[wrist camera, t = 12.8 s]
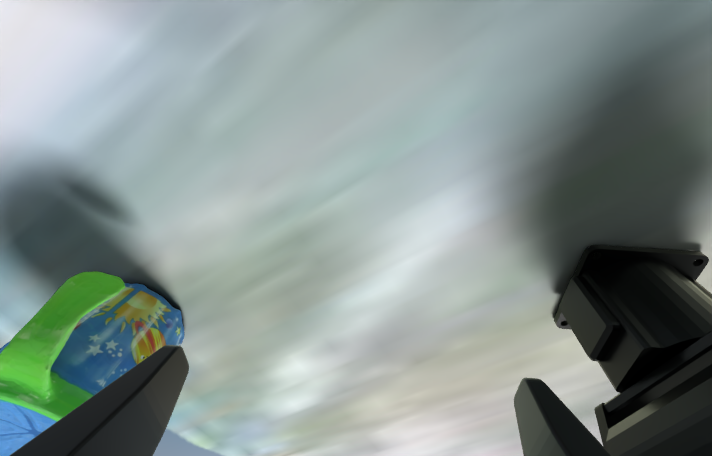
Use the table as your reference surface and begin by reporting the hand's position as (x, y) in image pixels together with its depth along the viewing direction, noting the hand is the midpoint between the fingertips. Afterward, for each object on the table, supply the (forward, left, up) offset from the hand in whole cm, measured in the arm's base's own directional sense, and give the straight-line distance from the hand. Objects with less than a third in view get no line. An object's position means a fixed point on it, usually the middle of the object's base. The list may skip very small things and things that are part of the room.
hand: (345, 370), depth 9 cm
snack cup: (+18, +12, -12) cm, 25 cm away
